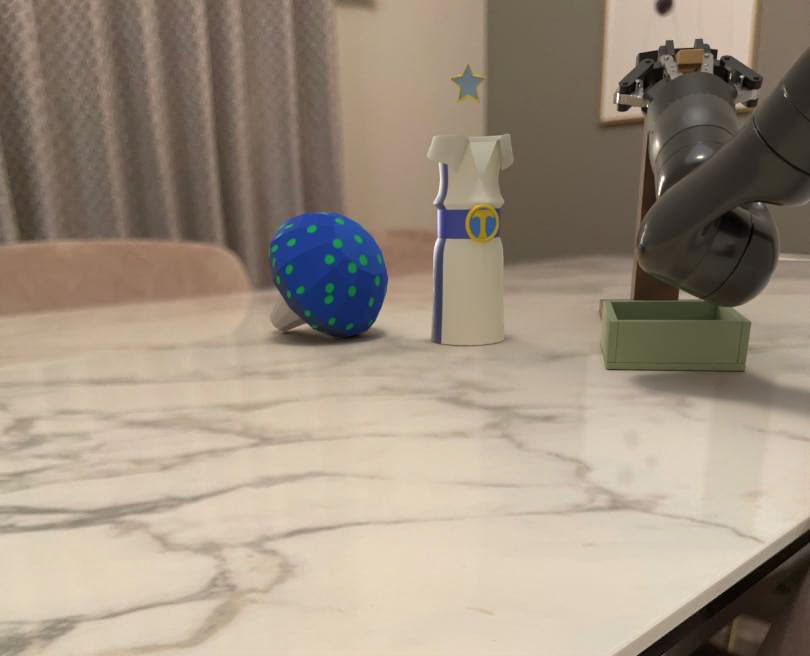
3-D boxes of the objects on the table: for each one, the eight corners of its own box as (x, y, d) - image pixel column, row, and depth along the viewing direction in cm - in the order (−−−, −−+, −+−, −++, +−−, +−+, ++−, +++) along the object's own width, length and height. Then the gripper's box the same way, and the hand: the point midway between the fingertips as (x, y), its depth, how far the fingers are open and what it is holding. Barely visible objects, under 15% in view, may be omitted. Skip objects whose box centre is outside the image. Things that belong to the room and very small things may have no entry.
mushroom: (264, 253, 99) (347, 168, 91) (343, 347, 103) (430, 273, 94) (202, 293, 89) (290, 200, 80) (293, 396, 92) (386, 318, 83)
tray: (718, 343, 83) (723, 300, 82) (744, 371, 71) (751, 321, 70) (600, 342, 85) (603, 300, 84) (606, 369, 73) (609, 320, 72)
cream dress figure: (524, 341, 86) (534, 62, 77) (447, 348, 84) (446, 60, 74) (491, 330, 93) (496, 73, 84) (418, 335, 91) (414, 72, 81)
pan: (705, 90, 94) (709, 56, 93) (734, 73, 79) (738, 32, 77) (631, 93, 95) (634, 59, 94) (645, 76, 80) (648, 36, 79)
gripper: (787, 91, 71) (763, 4, 81) (616, 97, 73) (614, 12, 83) (766, 176, 77) (746, 84, 87) (609, 179, 79) (608, 90, 89)
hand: (682, 49), depth 85 cm, fingers closed on pan, 2 cm apart
